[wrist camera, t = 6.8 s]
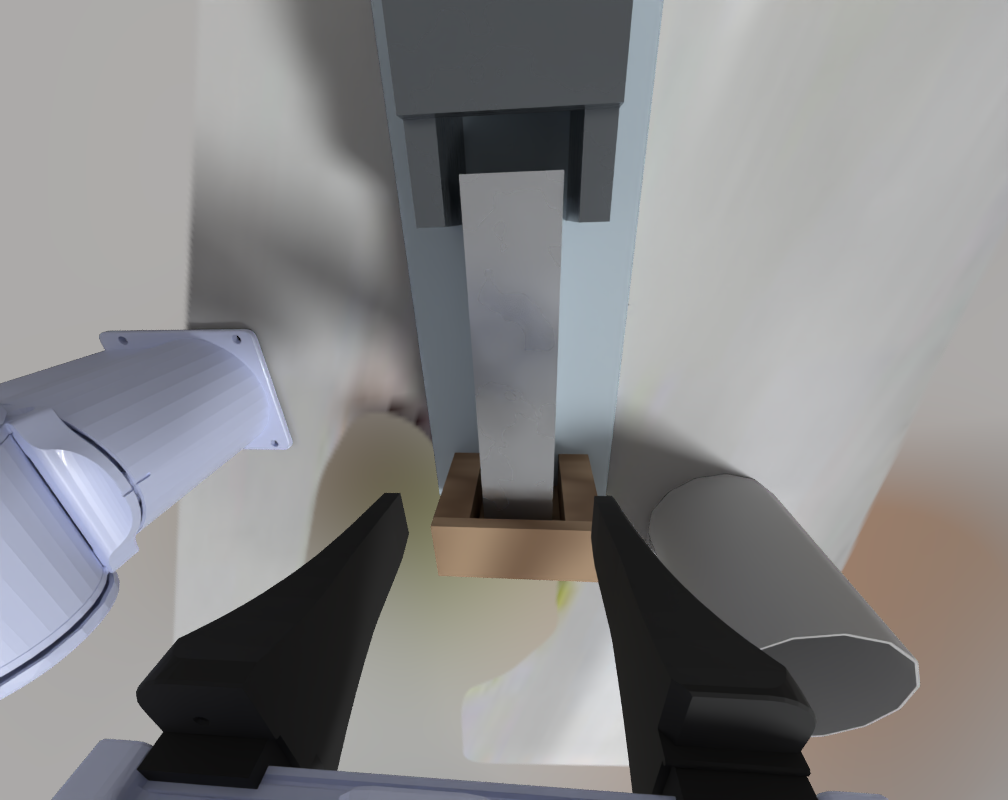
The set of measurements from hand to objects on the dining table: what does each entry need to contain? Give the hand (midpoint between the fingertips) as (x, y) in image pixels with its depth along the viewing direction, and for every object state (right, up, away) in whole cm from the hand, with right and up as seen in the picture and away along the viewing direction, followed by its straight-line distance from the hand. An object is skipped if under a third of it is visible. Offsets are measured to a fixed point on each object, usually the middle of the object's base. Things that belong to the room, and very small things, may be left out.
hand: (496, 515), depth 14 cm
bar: (+1, +6, +6) cm, 9 cm away
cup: (+14, -4, +12) cm, 19 cm away
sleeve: (+1, +16, +2) cm, 17 cm away
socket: (+1, 0, +11) cm, 11 cm away
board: (+1, +9, +6) cm, 11 cm away
